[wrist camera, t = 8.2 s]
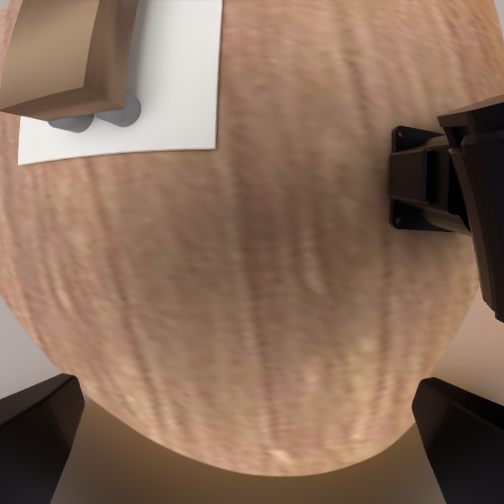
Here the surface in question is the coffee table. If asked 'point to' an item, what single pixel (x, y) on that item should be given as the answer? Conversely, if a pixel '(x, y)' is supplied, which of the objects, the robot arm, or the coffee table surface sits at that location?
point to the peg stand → (148, 91)
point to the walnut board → (68, 58)
